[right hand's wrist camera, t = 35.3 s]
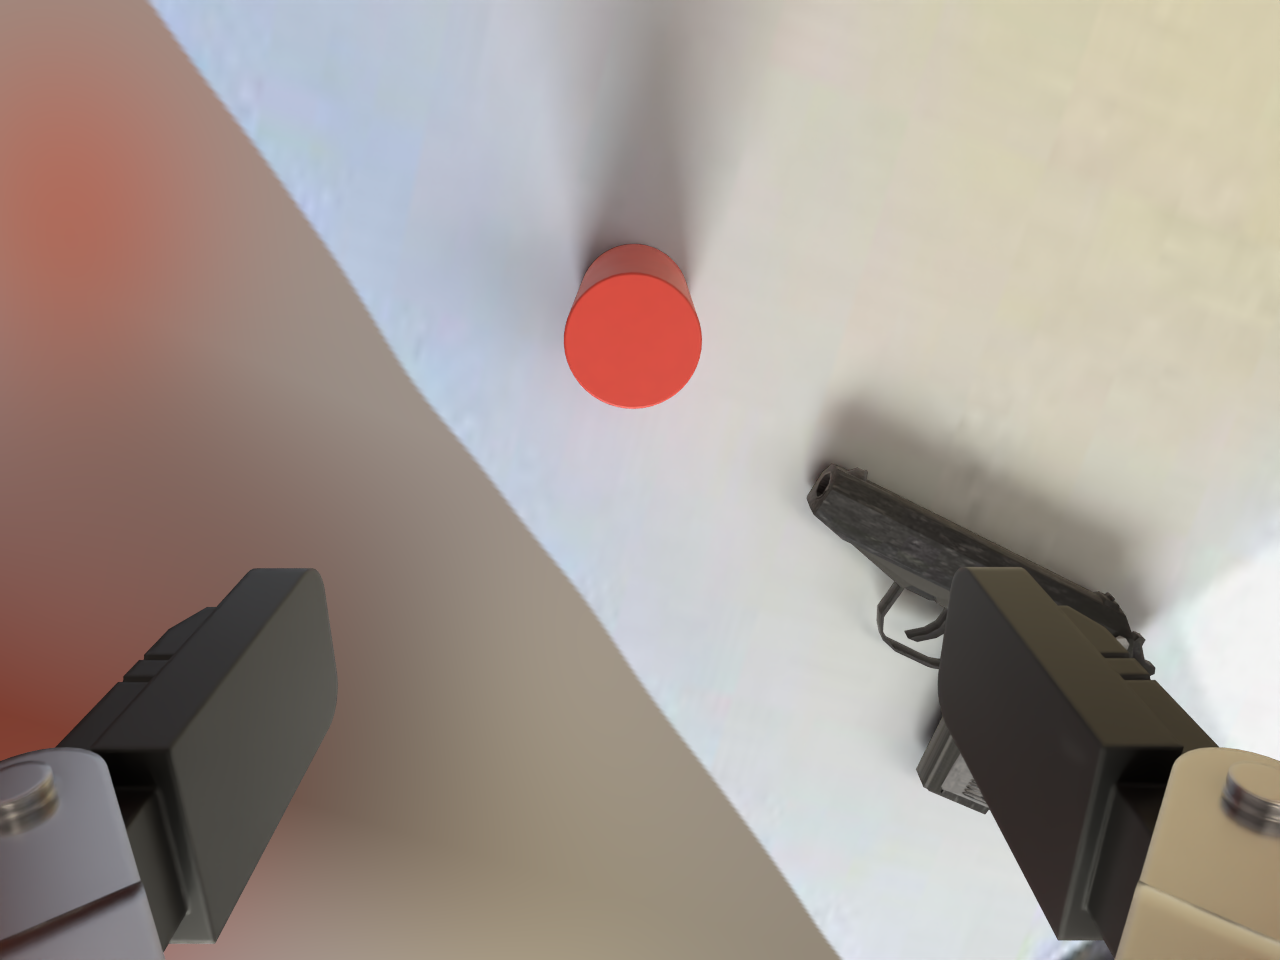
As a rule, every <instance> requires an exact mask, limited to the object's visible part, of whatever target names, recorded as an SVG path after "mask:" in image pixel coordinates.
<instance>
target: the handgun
mask: <svg viewBox="0 0 1280 960" xmlns="http://www.w3.org/2000/svg"><path fill="white" fill-rule="evenodd" d="M807 501H808V503H809V506H810V508H811V510H812V512H813V514H814V515H815V516H816V517H817V518H818V519H819V520H821V521H822V522H823V523H824V524H825V525H826V526H828V527H829V528H830V529H831V530H832V531H833V532H835V533H836V534H837V535H838V536H839V537H840V538H842V539H843V540H845V541H847V542H849V543H851V544H852V545H853V546H855V547H856V548H857V549H858V550H859V551H860V552H862V553H863V554H864V555H865V556H866V557H867V558H868V559H870V560H871V561H872V562H873V563H874V564H875V565H877V566H878V567H879V568H880V569H881V570H882V571H883V572H885V573H886V574H887V575H888V576H889V577H890V578H892V579H893V580H894V581H895V582H894V583H893V585H892V586H891V588H890V589H889V590H888V592H887V593H886V594H885V596H884V597H883V599H882V600H881V601H880V603H879V604H878V605H877V625H878V630H879V633H880V635H881V637H882V639H883V640H884V641H885V642H886V643H887V644H888V645H889V646H890V647H891V648H892V649H893V650H894V651H896V652H898V653H900V654H902V655H904V656H906V657H908V658H910V659H913V660H915V661H917V662H919V663H921V664H923V665H925V666H927V667H930V668H935V669H939V665H940V659H937V658H931V657H927V656H925V655H923V654H921V653H919V652H917V651H915V650H913V649H911V648H909V647H907V646H905V645H902V644H900V643H898V642H896V641H894V640H892V639H890V638H888V637H886V636H885V634H884V633H883V623H884V616H885V615H886V613H887V612H888V611H889V609H890V608H891V606H892V605H893V604H894V602H895V601H896V599H897V598H898V597H899V595H900V594H901V592H902V591H903V590H904V588H906V589H908V590H910V591H912V592H914V593H916V594H918V595H920V596H922V597H924V598H926V599H928V600H935V601H936V603H937V604H939V605H941V606H943V607H944V610H943V611H942V613H941V614H940V615H939V617H938V618H937V619H936V620H935V621H934V622H932V623H930V624H928V625H927V626H925V627H921V628H916V629H911V630H906V631H905V633H906V635H907V637H908V638H909V639H911V640H914V641H916V642H919V641H924V640H929V639H933V638H937V637H939V636H941V635H942V634H944V631H945V624H946V617H947V610H948V603H949V596H950V589H951V584H952V580H953V577H954V575H955V573H956V571H957V570H958V569H959V568H961V567H1021V568H1024V569H1025V570H1026V571H1027V572H1028V573H1029V574H1030V575H1031V576H1032V577H1033V578H1034V580H1035V581H1036V582H1037V583H1038V584H1039V585H1040V586H1041V587H1042V588H1043V590H1044V591H1045V592H1046V593H1047V594H1048V595H1049V596H1050V597H1051V599H1052V600H1053V601H1054V602H1055V603H1056V604H1057V605H1058V606H1069V607H1071V608H1073V609H1074V610H1076V611H1078V612H1079V613H1081V614H1083V615H1085V616H1086V617H1088V618H1090V619H1091V620H1093V621H1095V622H1097V623H1098V624H1100V625H1102V626H1104V627H1105V628H1106V629H1107V630H1108V631H1109V632H1110V633H1111V634H1112V635H1113V636H1114V637H1115V638H1116V639H1117V640H1118V641H1119V642H1120V644H1121V645H1122V646H1123V647H1124V648H1125V649H1126V650H1127V651H1128V652H1129V653H1130V658H1135V659H1136V660H1137V661H1138V662H1139V663H1140V665H1141V666H1142V667H1143V668H1144V669H1145V670H1146V671H1147V672H1148V673H1149V674H1150V676H1151V675H1153V674H1155V667H1154V666H1153V665H1152V664H1151V662H1149V661H1147V660H1145V659H1144V655H1143V650H1142V645H1143V643H1144V641H1145V639H1144V638H1143V637H1142V636H1141V635H1140V634H1139V633H1137V632H1134V631H1133V632H1132V633H1131V630H1130V627H1129V624H1128V621H1127V618H1126V616H1125V614H1124V613H1123V611H1122V610H1121V609H1120V608H1119V605H1118V604H1117V603H1116V602H1115V601H1114V600H1115V599H1114V598H1113V597H1112V596H1111V595H1110V594H1109V593H1108V592H1107V593H1106V594H1103V593H1101V592H1091V591H1089V590H1087V589H1085V588H1083V587H1081V586H1079V585H1077V584H1075V583H1073V582H1071V581H1069V580H1067V579H1065V578H1063V577H1061V576H1059V575H1057V574H1055V573H1053V572H1051V571H1049V570H1047V569H1045V568H1043V567H1041V566H1039V565H1037V564H1035V563H1033V562H1031V561H1029V560H1027V559H1025V558H1023V557H1021V556H1019V555H1017V554H1015V553H1013V552H1011V551H1009V550H1007V549H1005V548H1003V547H1001V546H999V545H997V544H995V543H993V542H991V541H989V540H987V539H985V538H983V537H981V536H979V535H977V534H975V533H973V532H971V531H969V530H967V529H965V528H963V527H961V526H959V525H957V524H955V523H953V522H951V521H949V520H947V519H945V518H943V517H941V516H939V515H937V514H935V513H933V512H931V511H929V510H927V509H925V508H923V507H921V506H919V505H917V504H915V503H913V502H910V501H908V500H906V499H904V498H902V497H900V496H898V495H896V494H894V493H892V492H890V491H888V490H886V489H884V488H882V487H880V486H878V485H876V484H874V483H872V482H870V481H868V480H867V471H866V470H863V469H860V468H855V469H852V470H849V471H848V470H846V469H844V468H842V467H839V466H837V465H833V464H831V465H830V466H828V467H827V468H826V469H825V470H824V471H823V472H822V474H821V475H820V477H819V478H818V480H817V481H816V483H815V485H814V486H813V488H812V489H811V491H810V492H809V494H808V496H807ZM916 770H917V773H918V775H919V777H920V780H921V782H922V784H923V787H925V788H927V789H928V791H931V792H933V793H935V794H938V795H940V796H943V797H945V798H947V799H950V800H952V801H954V802H957V803H959V804H962V805H964V806H966V807H969V808H971V809H973V810H976V811H978V812H981V813H983V814H986V813H987V811H988V810H990V809H989V807H988V805H987V803H986V801H985V799H984V797H983V795H982V794H981V792H980V790H979V788H978V786H977V784H976V782H975V780H974V778H973V776H972V774H971V772H970V771H969V769H968V767H967V765H966V763H965V761H964V759H963V757H962V755H961V753H960V751H959V749H958V748H957V746H956V744H955V742H954V740H953V738H952V736H951V734H950V732H949V730H948V728H947V726H946V724H945V722H944V719H943V716H942V718H941V720H940V722H939V724H938V726H937V728H936V730H935V732H934V734H933V736H932V738H931V740H930V742H929V744H928V746H927V748H926V750H925V752H924V754H923V756H922V758H921V760H920V762H919V764H918V766H917V768H916Z"/></svg>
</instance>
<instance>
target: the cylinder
mask: <svg viewBox="0 0 1280 960" xmlns="http://www.w3.org/2000/svg"><path fill="white" fill-rule="evenodd" d="M701 346H702V335H701V328H700V323H699V320H698V317H697V314H696V311H695V308H694V305H693V302H692V299H691V296H690V293H689V290H688V287H687V284H686V281H685V278H684V276H683V274H682V272H681V270H680V269H679V267H678V266H677V265H676V263H675V262H674V261H673V260H672V259H671V258H670V257H669V256H667V255H666V254H665V253H663V252H661V251H660V250H658V249H656V248H653V247H650V246H647V245H641V244H626V245H621V246H617V247H615V248H612V249H610V250H608V251H606V252H605V253H603V254H602V255H600V256H599V257H598V258H597V259H596V260H595V261H594V262H593V263H592V264H591V266H590V267H589V268H588V270H587V272H586V273H585V276H584V278H583V280H582V283H581V285H580V288H579V290H578V293H577V295H576V298H575V300H574V303H573V305H572V308H571V311H570V313H569V316H568V318H567V322H566V325H565V332H564V349H565V355H566V359H567V362H568V365H569V367H570V369H571V371H572V373H573V375H574V377H575V378H576V379H577V381H578V382H579V383H580V385H581V386H582V387H583V388H584V389H585V390H586V391H587V392H589V393H590V394H591V395H592V396H594V397H595V398H597V399H599V400H600V401H602V402H605V403H607V404H609V405H613V406H616V407H621V408H631V409H636V408H645V407H650V406H653V405H656V404H659V403H661V402H663V401H665V400H667V399H669V398H671V397H672V396H674V395H675V394H676V393H677V392H679V391H680V390H681V389H682V388H683V387H684V386H685V384H686V383H687V382H688V381H689V379H690V378H691V376H692V375H693V373H694V371H695V369H696V367H697V364H698V361H699V358H700V353H701Z"/></svg>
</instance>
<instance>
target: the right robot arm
mask: <svg viewBox="0 0 1280 960" xmlns="http://www.w3.org/2000/svg"><path fill="white" fill-rule="evenodd" d="M123 678H124V679H123V682H118V683H117V684H116V685H115V686H114V687H113V688H112V689H111V690H110V691H109V692H108V693H107V694H106V695H105V696H104V697H103V698H102V699H101V701H99V702H98V704H97V705H96V706H95V707H94V708H93V709H92V710H91V711H90V712H89V713H88V714H87V715H86V716H85V717H84V718H83V719H82V720H81V721H80V722H79V723H78V724H77V725H76V726H75V727H74V729H73V730H72V731H71V732H70V733H69V734H68V735H67V736H66V737H65V738H64V739H63V740H62V741H61V742H60V743H59V744H58V745H57V746H56V747H55V748H49V749H42V750H37V751H32V752H27V753H24V754H20V755H17V756H14V757H10V758H8V759H5V760H2V761H0V960H165V957H164V954H163V952H164V951H165V949H166V947H167V946H168V944H215V943H216V941H217V939H218V937H219V935H220V933H221V931H222V929H223V928H224V926H225V924H226V922H227V920H228V918H229V916H230V914H231V912H232V911H233V909H234V907H235V905H236V903H237V901H238V899H239V897H240V895H241V894H242V892H243V890H244V888H245V886H246V884H247V882H248V880H249V878H250V876H251V875H252V873H253V871H254V869H255V867H256V865H257V863H258V861H259V859H260V857H261V856H262V854H263V852H264V850H265V848H266V846H267V844H268V842H269V840H270V839H271V837H272V835H273V833H274V831H275V829H276V827H277V825H278V823H279V822H280V820H281V818H282V816H283V814H284V812H285V810H286V808H287V806H288V805H289V803H290V801H291V799H292V797H293V795H294V793H295V791H296V789H297V787H298V785H299V784H300V782H301V780H302V778H303V776H304V774H305V772H306V770H307V769H308V766H309V765H310V763H311V761H312V759H313V757H314V755H315V753H316V751H317V750H318V748H319V746H320V744H321V742H322V740H323V738H324V736H325V734H326V732H327V731H328V729H329V727H330V724H331V722H332V719H333V716H334V712H335V707H336V701H337V689H338V688H337V687H338V682H337V671H336V664H335V657H334V650H333V644H332V637H331V630H330V623H329V617H328V610H327V603H326V596H325V589H324V584H323V581H322V578H321V576H320V574H319V572H318V571H317V570H316V569H313V568H309V569H306V568H305V569H304V568H302V569H301V568H299V569H298V568H294V569H293V568H287V569H284V568H277V569H276V568H266V569H265V568H262V569H261V568H257V569H252V570H250V571H249V572H248V573H247V574H246V575H245V576H244V577H243V578H242V579H241V580H240V582H239V583H238V584H237V585H236V586H235V587H234V588H233V589H232V591H231V592H230V593H229V594H228V595H227V596H226V597H225V598H224V599H223V600H222V602H221V603H220V604H219V605H218V606H217V607H206V608H205V609H203V610H201V611H200V612H198V613H196V614H194V615H193V616H191V617H189V618H187V619H186V620H184V621H182V622H180V623H179V624H177V625H175V626H174V627H172V628H170V629H169V630H168V631H167V632H166V633H165V634H164V635H163V636H162V637H161V638H160V639H159V640H158V641H157V642H156V643H155V644H154V645H153V646H152V647H151V648H150V649H149V650H148V651H147V653H146V654H145V655H144V660H139V661H138V662H137V663H136V664H135V665H134V666H133V667H132V668H131V669H130V670H129V671H128V672H127V673H126V674H125V675H124V677H123ZM938 696H939V703H940V709H941V713H942V716H943V719H944V722H945V724H946V726H947V728H948V730H949V732H950V734H951V736H952V738H953V740H954V742H955V744H956V746H957V748H958V749H959V751H960V753H961V755H962V757H963V759H964V761H965V763H966V765H967V767H968V769H969V771H970V772H971V774H972V776H973V778H974V780H975V782H976V784H977V786H978V788H979V790H980V792H981V794H982V795H983V797H984V799H985V801H986V803H987V805H988V807H989V809H990V811H991V813H992V815H993V817H994V818H995V820H996V822H997V824H998V826H999V828H1000V830H1001V832H1002V834H1003V836H1004V838H1005V840H1006V841H1007V843H1008V845H1009V847H1010V849H1011V851H1012V853H1013V855H1014V857H1015V859H1016V861H1017V863H1018V864H1019V866H1020V868H1021V870H1022V872H1023V874H1024V876H1025V878H1026V880H1027V882H1028V884H1029V886H1030V887H1031V889H1032V891H1033V893H1034V895H1035V897H1036V899H1037V901H1038V903H1039V905H1040V907H1041V909H1042V910H1043V912H1044V914H1045V916H1046V918H1047V920H1048V922H1049V924H1050V926H1051V928H1052V930H1053V932H1054V933H1055V935H1056V937H1057V939H1058V940H1104V941H1105V943H1106V945H1107V946H1108V948H1109V950H1110V952H1111V953H1112V955H1113V957H1114V958H1115V960H1280V761H1278V760H1275V759H1272V758H1270V757H1266V756H1263V755H1260V754H1256V753H1253V752H1248V751H1243V750H1239V749H1231V748H1219V746H1218V745H1217V744H1216V743H1215V742H1214V741H1213V740H1212V739H1211V738H1210V737H1209V736H1208V735H1207V734H1206V733H1205V732H1204V731H1203V730H1202V729H1201V728H1200V727H1199V725H1198V724H1197V723H1196V722H1195V721H1194V720H1193V719H1192V718H1191V717H1190V716H1189V715H1188V714H1187V713H1186V712H1185V711H1184V710H1183V709H1182V708H1181V707H1180V705H1179V704H1178V703H1177V702H1176V701H1175V700H1174V699H1173V698H1172V697H1171V696H1170V695H1169V694H1168V693H1167V692H1166V691H1165V690H1164V689H1163V688H1162V687H1161V686H1160V684H1159V683H1158V682H1157V681H1156V680H1151V679H1150V674H1149V673H1148V672H1147V671H1146V670H1145V669H1144V668H1143V667H1142V666H1141V665H1140V663H1139V662H1138V661H1137V660H1136V659H1135V658H1130V653H1129V652H1128V651H1127V650H1126V649H1125V648H1124V647H1123V646H1122V645H1121V644H1120V642H1119V641H1118V640H1117V639H1116V638H1115V637H1114V636H1113V635H1112V634H1111V633H1110V632H1109V631H1108V630H1107V629H1106V628H1105V627H1104V626H1102V625H1100V624H1098V623H1097V622H1095V621H1093V620H1091V619H1090V618H1088V617H1086V616H1085V615H1083V614H1081V613H1079V612H1078V611H1076V610H1074V609H1073V608H1071V607H1069V606H1058V605H1057V604H1056V603H1055V602H1054V601H1053V600H1052V599H1051V597H1050V596H1049V595H1048V594H1047V593H1046V592H1045V591H1044V590H1043V588H1042V587H1041V586H1040V585H1039V584H1038V583H1037V582H1036V581H1035V580H1034V578H1033V577H1032V576H1031V575H1030V574H1029V573H1028V572H1027V571H1026V570H1025V569H1024V568H1021V567H961V568H959V569H958V570H957V571H956V573H955V575H954V577H953V580H952V584H951V589H950V596H949V603H948V610H947V617H946V624H945V631H944V638H943V645H942V651H941V658H940V665H939V673H938Z"/></svg>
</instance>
